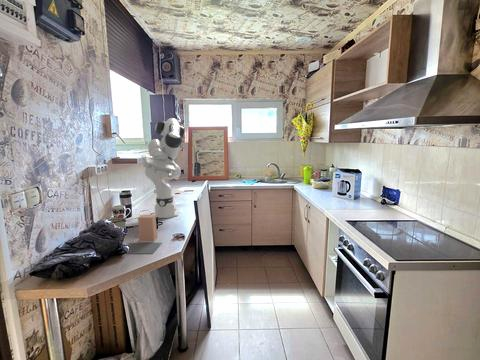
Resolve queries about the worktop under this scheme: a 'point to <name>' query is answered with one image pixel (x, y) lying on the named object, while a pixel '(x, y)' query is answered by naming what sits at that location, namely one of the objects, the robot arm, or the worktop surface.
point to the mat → (142, 248)
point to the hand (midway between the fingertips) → (162, 174)
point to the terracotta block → (147, 228)
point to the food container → (118, 222)
